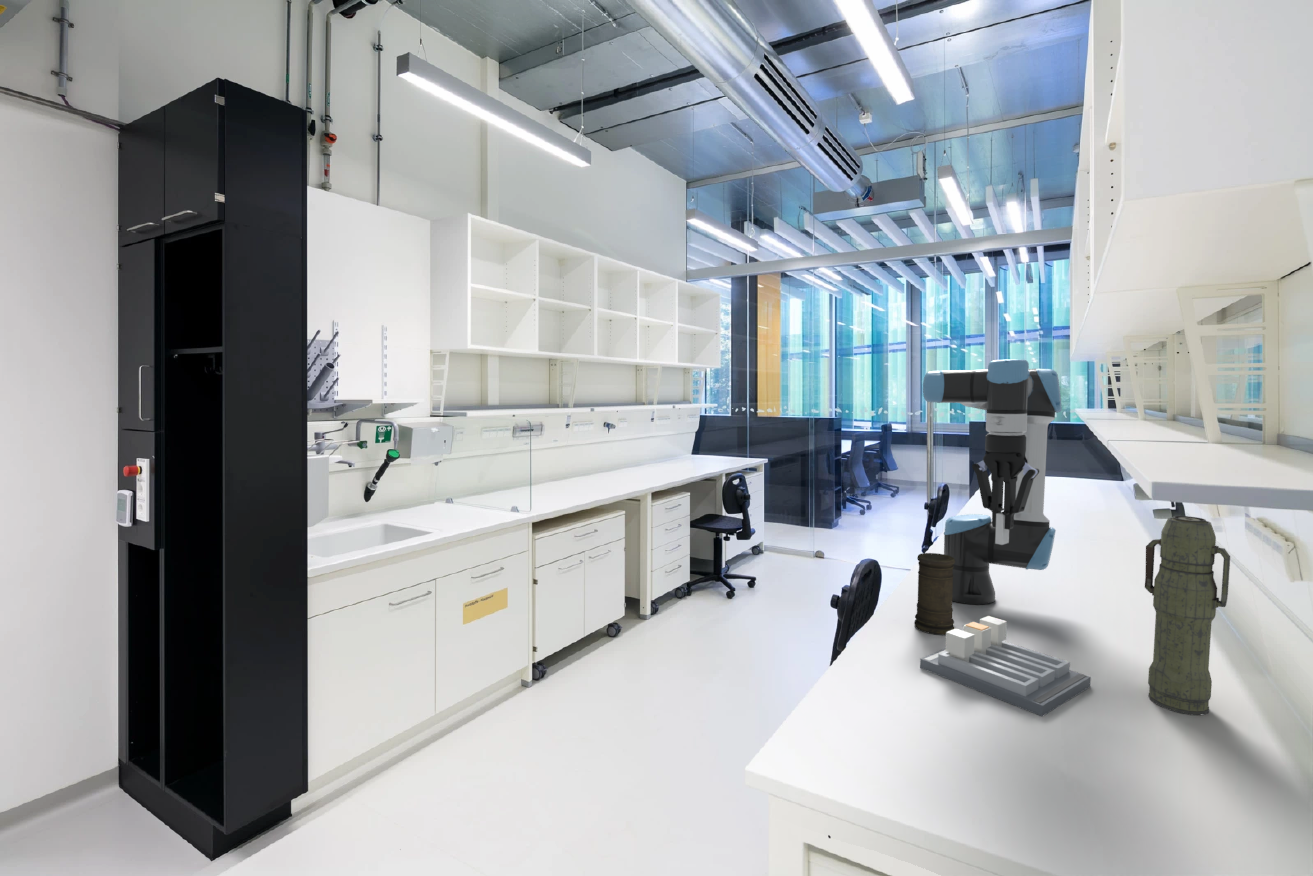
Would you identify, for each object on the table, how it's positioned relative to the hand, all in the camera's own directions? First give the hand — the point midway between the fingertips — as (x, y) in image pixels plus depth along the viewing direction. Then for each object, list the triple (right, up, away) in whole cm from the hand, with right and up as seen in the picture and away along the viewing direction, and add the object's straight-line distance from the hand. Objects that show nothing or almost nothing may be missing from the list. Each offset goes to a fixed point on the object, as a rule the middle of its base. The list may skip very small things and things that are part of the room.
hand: (1002, 543), depth 133 cm
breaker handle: (-6, -24, -2) cm, 25 cm away
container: (-5, -25, +20) cm, 33 cm away
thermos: (+23, -27, -17) cm, 40 cm away
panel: (-3, -26, -6) cm, 27 cm away
